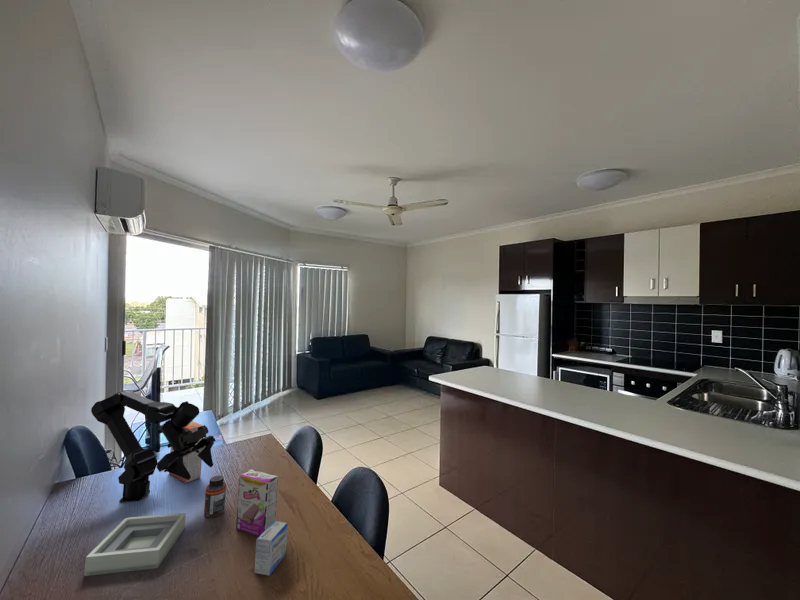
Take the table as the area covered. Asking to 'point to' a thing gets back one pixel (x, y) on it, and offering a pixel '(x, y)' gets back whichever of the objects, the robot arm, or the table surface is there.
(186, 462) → the cracker box
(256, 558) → the medicine box
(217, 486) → the supplement bottle
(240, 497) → the candy bar box
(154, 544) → the bore box
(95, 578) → the table surface
